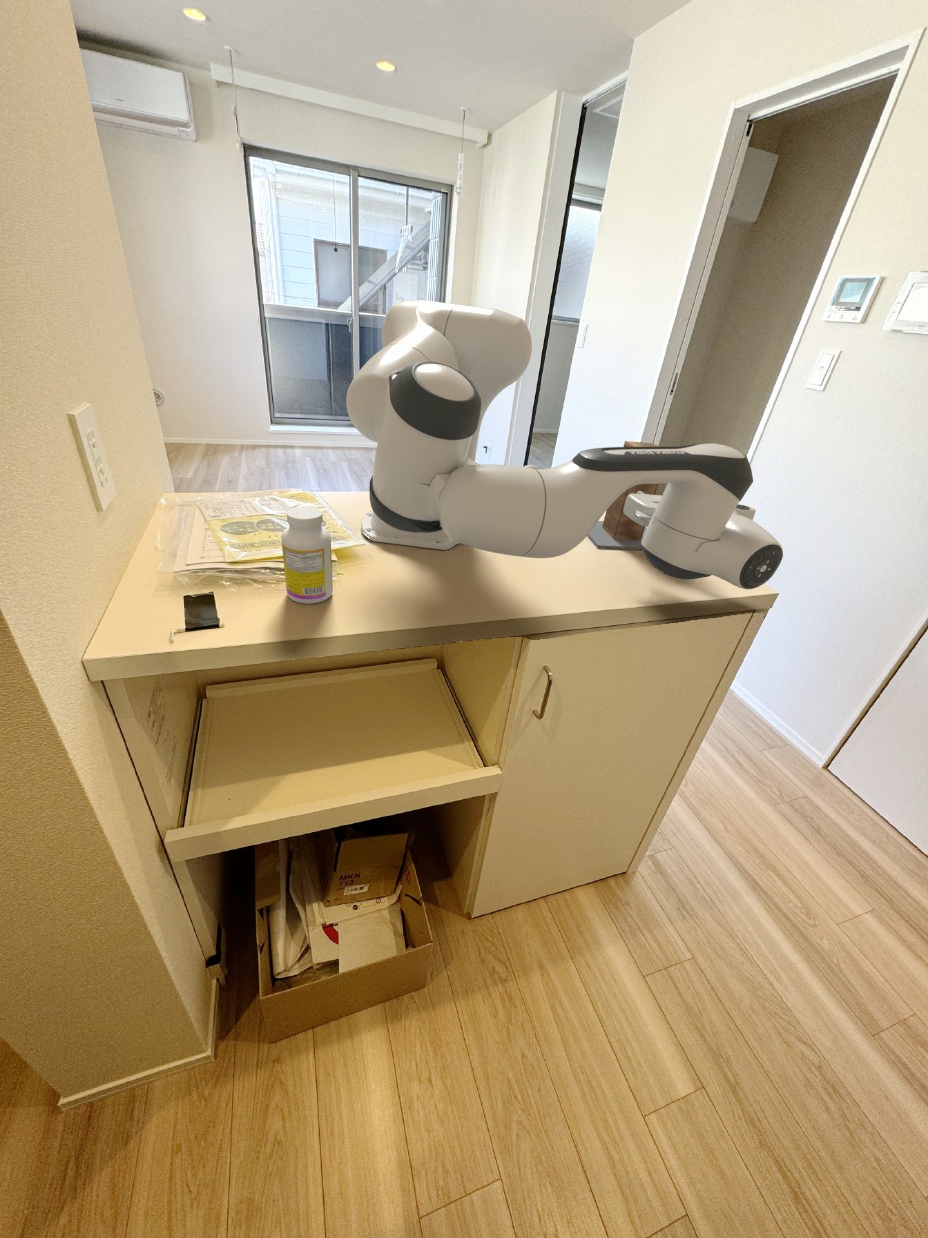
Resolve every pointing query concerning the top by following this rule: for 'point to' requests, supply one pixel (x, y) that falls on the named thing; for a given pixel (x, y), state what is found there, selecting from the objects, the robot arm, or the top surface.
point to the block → (615, 517)
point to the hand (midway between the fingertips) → (663, 496)
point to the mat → (611, 539)
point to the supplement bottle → (307, 556)
